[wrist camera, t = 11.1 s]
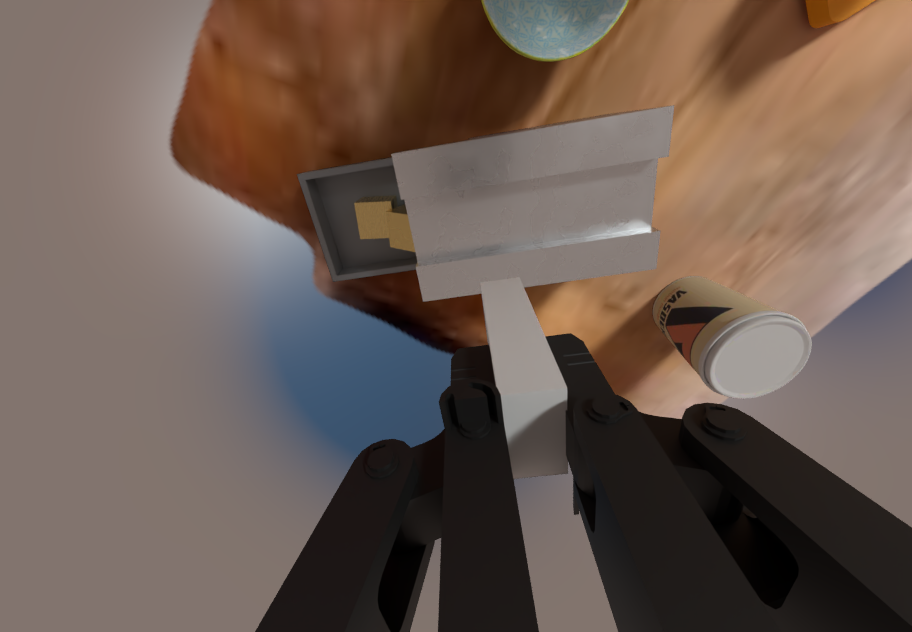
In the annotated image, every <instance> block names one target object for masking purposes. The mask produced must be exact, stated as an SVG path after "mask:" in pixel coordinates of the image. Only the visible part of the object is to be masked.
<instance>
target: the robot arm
mask: <svg viewBox="0 0 912 632" xmlns="http://www.w3.org/2000/svg"><path fill="white" fill-rule="evenodd" d="M480 285H481V293H482V301H483V309H484V317H485V324H486V332H487V340H488V345H484V346H476V347H468V348H460V349H458V350H457V351H456V353H455V354H454V356H453V357H452V359H451V386H449V387H448V388H447V389H446V390H445V391H444V392H443V393H442V394H441V397H440V400H439V405H440V409H441V414H442V418H443V423H444V427H445V429H444V430H443V431H442V432H441V433H440V434H439V435H437V436H436V437H435V438H433V439H432V440H429V441H427V442H425V443H423V444H420V445H418V446H415V447H412V448H410V447H409V446H408V445H407V444H406V443H405V442H403V441H400V440H396V439H389V440H382V441H379V442H376V443H373V444H371V445H370V446H369V447H367V448H366V449H364V450H363V451H362V452H361V453H360V454H359V455H358V457H357V458H356V459H355V460H354V462H353V464H352V465H351V467H350V469H349V471H348V472H347V474H346V476H345V478H344V479H343V481H342V483H341V484H340V486H339V488H338V490H337V491H336V493H335V495H334V496H333V498H332V500H331V502H330V503H329V505H328V507H327V509H326V510H325V512H324V514H323V516H322V517H321V519H320V521H319V522H318V524H317V526H316V528H315V529H314V531H313V533H312V535H311V536H310V538H309V540H308V541H307V543H306V545H305V547H304V548H303V550H302V552H301V553H300V555H299V557H298V559H297V560H296V562H295V564H294V566H293V567H292V569H291V571H290V572H289V574H288V576H287V578H286V579H285V581H284V583H283V585H282V586H281V588H280V590H279V591H278V593H277V595H276V597H275V598H274V600H273V602H272V604H271V605H270V607H269V609H268V611H267V612H266V614H265V616H264V617H263V619H262V621H261V623H260V624H259V626H258V628H257V629H256V631H255V632H410V629H411V625H412V622H413V618H414V615H415V611H416V607H417V604H418V600H419V597H420V593H421V590H422V586H423V582H424V579H425V575H426V572H427V568H428V564H429V561H430V557H431V554H432V550H433V546H434V542H435V540H437V539H439V538H441V563H440V592H439V593H440V594H439V621H438V632H539V630H538V624H537V618H536V612H535V606H534V600H533V595H532V588H531V582H530V576H529V570H528V564H527V558H526V553H525V546H524V540H523V534H522V528H521V522H520V516H519V510H518V504H517V498H516V492H515V486H514V480H513V479H518V478H528V477H538V476H548V475H558V474H567V473H568V462H569V465H570V468H571V471H572V474H573V508H574V515H576V514H579V511H580V514H581V517H582V520H583V523H584V526H585V529H586V533H587V535H588V539H589V542H590V545H591V548H592V551H593V554H594V557H595V561H596V563H597V567H598V570H599V573H600V576H601V579H602V582H603V585H604V589H605V592H606V595H607V598H608V601H609V604H610V607H611V610H612V613H613V617H614V620H615V623H616V626H617V629H618V632H912V528H911V527H910V526H908V525H907V524H906V523H904V522H903V521H901V520H900V519H898V518H897V517H895V516H894V515H893V514H891V513H890V512H888V511H887V510H885V509H884V508H882V507H881V506H880V505H878V504H877V503H875V502H874V501H872V500H871V499H869V498H868V497H866V496H865V495H864V494H862V493H861V492H859V491H858V490H856V489H855V488H854V487H852V486H851V485H849V484H848V483H846V482H845V481H843V480H842V479H841V478H839V477H838V476H836V475H835V474H833V473H832V472H830V471H829V470H828V469H826V468H825V467H823V466H822V465H820V464H819V463H817V462H816V461H815V460H813V459H812V458H810V457H809V456H807V455H806V454H804V453H803V452H802V451H800V450H799V449H797V448H796V447H794V446H793V445H791V444H790V443H788V442H787V441H786V440H784V439H783V438H781V437H780V436H778V435H777V434H775V433H774V432H772V431H771V430H770V429H768V428H767V427H765V426H764V425H762V424H761V423H760V422H758V421H757V420H755V419H754V418H752V417H751V416H749V415H747V414H745V413H743V412H741V411H740V410H738V409H735V408H732V407H728V406H725V405H722V404H714V403H702V404H695V405H693V406H691V407H689V408H687V409H686V410H685V413H684V415H683V417H682V419H676V418H668V417H659V416H653V415H648V414H644V413H641V412H638V410H637V409H636V408H635V407H634V406H633V404H632V403H631V402H630V401H628V400H626V399H624V398H622V397H621V396H619V395H615V394H614V392H613V390H612V389H611V387H610V385H609V384H608V382H607V380H606V379H605V377H604V375H603V374H602V372H601V370H600V369H599V367H598V365H597V364H596V362H594V359H593V357H592V356H591V354H589V351H588V349H587V347H586V346H585V344H584V342H583V341H582V340H580V339H579V338H577V337H576V336H574V335H572V334H571V333H570V334H562V335H554V336H546V337H545V335H544V333H543V331H542V328H541V326H540V324H539V321H538V319H537V317H536V314H535V312H534V310H533V308H532V305H531V303H530V301H529V298H528V296H527V294H526V291H525V289H524V287H523V284H522V282H521V280H520V277H516V278H509V279H502V280H495V281H488V282H480Z"/></svg>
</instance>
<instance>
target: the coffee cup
mask: <svg viewBox="0 0 912 632" xmlns="http://www.w3.org/2000/svg"><path fill="white" fill-rule="evenodd" d="M653 318H654V321H655V323H656V325H657V326H658V327H659V329H660V330H661V331H662V332H663V334H664V335H665V336H666V337H667V338H668V339H669V341H670V342H671V343H672V344H673V345H674V347H675V348H676V349H677V350H678V351H679V352H680V354H681V355H682V356H683V357H684V358H685V359H686V361H687V362H688V363H689V364H690V365H691V366H692V368H693V369H694V370H695V371H696V372H697V373H698V374H699V375H700V377H701V379H702V380H703V382H704V383H705V384H706V386H708V387H709V388H710V389H711V390H713V391H714V392H716V393H718V394H721V395H724V396H727V397H731V398H737V399H744V398H745V399H747V398H753V397H759V396H762V395H765V394H768V393H770V392H773V391H775V390H777V389H779V388H780V387H782V386H784V385H785V384H787V383H788V382H789V381H791V380H792V379H793V378H794V377H795V376H796V375H797V374H798V373H799V372H800V371H801V370H802V368H803V367H804V365H805V364H806V362H807V360H808V358H809V356H810V353H811V345H812V343H811V337H810V335H809V333H808V331H807V329H806V327H805V326H804V324H803V323H802V322H801V321H800V320H798V319H797V318H795V317H794V316H792V315H789V314H787V313H784V312H780V311H777V310H775V309H773V308H771V307H769V306H767V305H765V304H763V303H760V302H758V301H756V300H754V299H752V298H750V297H747V296H745V295H743V294H741V293H739V292H736V291H734V290H732V289H730V288H728V287H725V286H723V285H721V284H719V283H716V282H714V281H712V280H709V279H707V278H704V277H698V276H690V277H685V278H681V279H679V280H676V281H674V282H672V283H671V284H669V285H668V286H667V287H666V288H664V289H663V290H662V292H661V293H660V294H659V295H658V297H657V298H656V300H655V303H654V306H653Z"/></svg>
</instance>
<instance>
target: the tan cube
mask: <svg viewBox="0 0 912 632" xmlns="http://www.w3.org/2000/svg"><path fill="white" fill-rule="evenodd" d="M386 218H387V225H388V233H389V241H390V247H392V248H397V249H402V250H407V251H412V252H415V248H414V243H413V238H412V234H411V229H410V224H409V219H408V215H407V210H406V205H405V204H404V205H401V206H399V207H396V208H393V209H391V210H388V211H386Z"/></svg>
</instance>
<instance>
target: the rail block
mask: <svg viewBox="0 0 912 632" xmlns="http://www.w3.org/2000/svg"><path fill="white" fill-rule="evenodd" d="M673 112H674V105H673V106H666V107H658V108H650V109H643V110H635V111H627V112H619V113H612V114H606V115H601V116H595V117H589V118H583V119H577V120H572V121H566V122H560V123H554V124H548V125H543V126H537V127H531V128H525V129H519V130H514V131H508V132H502V133H496V134H490V135H485V136H479V137H473V138H468V140H465V141H459V142H453V143H448V144H442V145H436V146H430V147H424V148H418V149H413V150H407V151H401V152H396V153H393V154H391V156H392V160H393V165H394V169H395V174H396V179H397V183H398V188H399V193H400V197H401V200H403V199H404V201H405V205H406V210H407V215H408V219H409V224H410V229H411V234H412V238H413V243H414V248H415V252H416V257H417V264H416V271H417V275H418V280H419V285H420V289H421V294H422V298H423V302H425V301H432V300H439V299H446V298H453V297H460V296H467V295H474V294H481V285H480V282H488V281H495V280H502V279H509V278H516V277H520V280H521V282H522V284H523V287H531V286H538V285H545V284H552V283H560V282H567V281H574V280H581V279H588V278H595V277H602V276H609V275H616V274H623V273H631V272H638V271H645V270H652V269H656V266H657V257H658V248H659V239H660V230H658V229H656V228H654V227H651V224H652V214H653V204H654V193H655V183H656V173H657V163H658V158H662V157H668V156H669V149H670V139H671V130H672V121H673Z"/></svg>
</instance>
